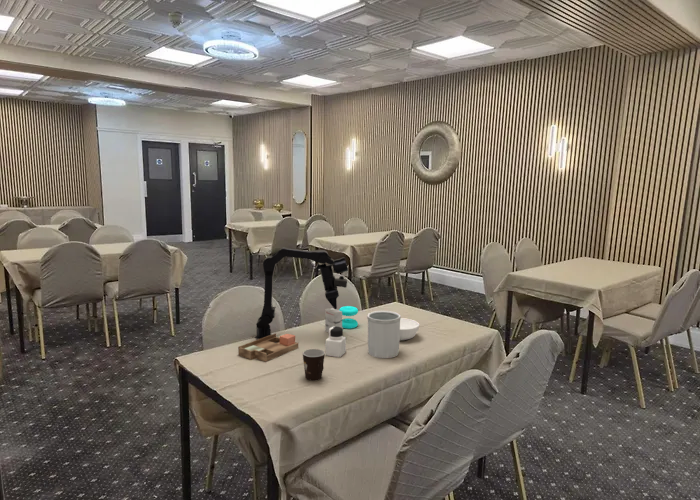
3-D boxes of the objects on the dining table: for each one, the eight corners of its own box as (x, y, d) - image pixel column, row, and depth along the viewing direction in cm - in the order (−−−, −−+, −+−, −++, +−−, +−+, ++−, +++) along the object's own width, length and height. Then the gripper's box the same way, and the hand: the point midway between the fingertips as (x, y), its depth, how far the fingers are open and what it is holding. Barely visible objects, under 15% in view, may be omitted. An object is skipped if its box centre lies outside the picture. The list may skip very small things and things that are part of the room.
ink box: (342, 334, 231) (343, 311, 229) (334, 335, 228) (335, 312, 226) (332, 329, 238) (332, 307, 236) (324, 331, 235) (324, 308, 233)
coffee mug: (302, 372, 184) (302, 348, 183) (324, 372, 185) (324, 348, 183) (302, 385, 173) (302, 360, 171) (325, 385, 173) (325, 359, 172)
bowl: (376, 340, 223) (377, 326, 222) (388, 329, 240) (388, 316, 239) (413, 346, 216) (414, 331, 215) (422, 334, 233) (423, 320, 232)
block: (279, 343, 209) (279, 336, 208) (287, 340, 213) (287, 333, 212) (287, 346, 206) (287, 338, 206) (295, 343, 210) (295, 335, 210)
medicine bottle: (345, 352, 207) (346, 326, 205) (340, 357, 200) (340, 331, 199) (331, 349, 209) (331, 324, 208) (325, 355, 203) (325, 329, 201)
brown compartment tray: (238, 355, 201) (238, 346, 200) (275, 341, 219) (275, 333, 219) (262, 363, 193) (262, 354, 192) (298, 348, 211) (298, 339, 210)
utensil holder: (361, 356, 203) (362, 317, 200) (372, 345, 216) (373, 308, 214) (394, 361, 198) (395, 321, 195) (402, 349, 211) (404, 312, 209)
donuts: (359, 306, 246) (356, 311, 236) (359, 324, 247) (355, 330, 238) (341, 304, 248) (337, 309, 238) (341, 322, 249) (336, 328, 240)
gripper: (345, 275, 213) (353, 307, 215) (342, 268, 231) (349, 297, 234) (321, 281, 212) (329, 313, 215) (320, 273, 231) (328, 302, 233)
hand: (335, 306), depth 224 cm, fingers open, 9 cm apart
